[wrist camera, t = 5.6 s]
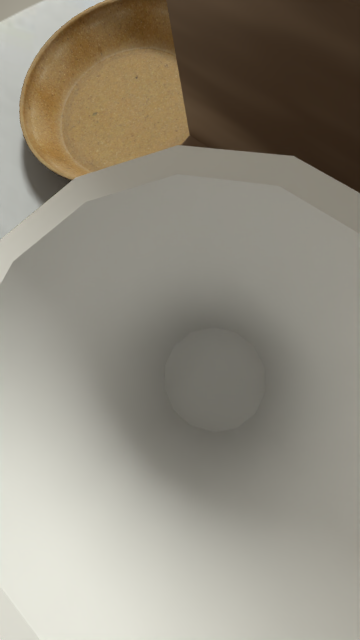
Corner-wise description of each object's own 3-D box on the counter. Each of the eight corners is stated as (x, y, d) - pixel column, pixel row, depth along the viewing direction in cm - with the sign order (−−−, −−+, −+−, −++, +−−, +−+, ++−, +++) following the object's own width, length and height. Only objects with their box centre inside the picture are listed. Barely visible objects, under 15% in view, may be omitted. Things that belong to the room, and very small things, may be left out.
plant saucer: (55, 230, 21) (32, 212, 19) (30, 75, 24) (6, 40, 22) (253, 165, 19) (256, 135, 17) (199, 5, 22) (195, -41, 20)
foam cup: (118, 339, 19) (-114, 281, 6) (248, 276, 18) (291, 58, 5) (177, 487, 17) (12, 864, 4) (327, 422, 16) (706, 635, 3)
